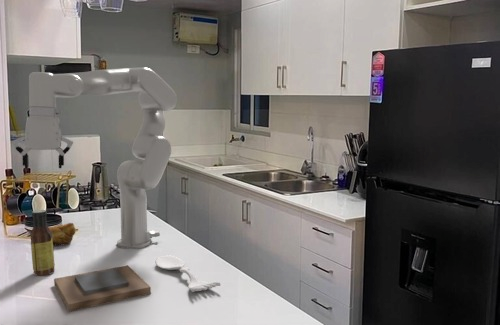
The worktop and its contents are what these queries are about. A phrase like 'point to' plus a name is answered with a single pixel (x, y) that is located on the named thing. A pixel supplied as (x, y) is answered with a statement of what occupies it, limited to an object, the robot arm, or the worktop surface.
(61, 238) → the bread roll
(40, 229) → the sauce bottle
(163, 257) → the double-ended spork
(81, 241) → the worktop surface
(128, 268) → the walnut base
